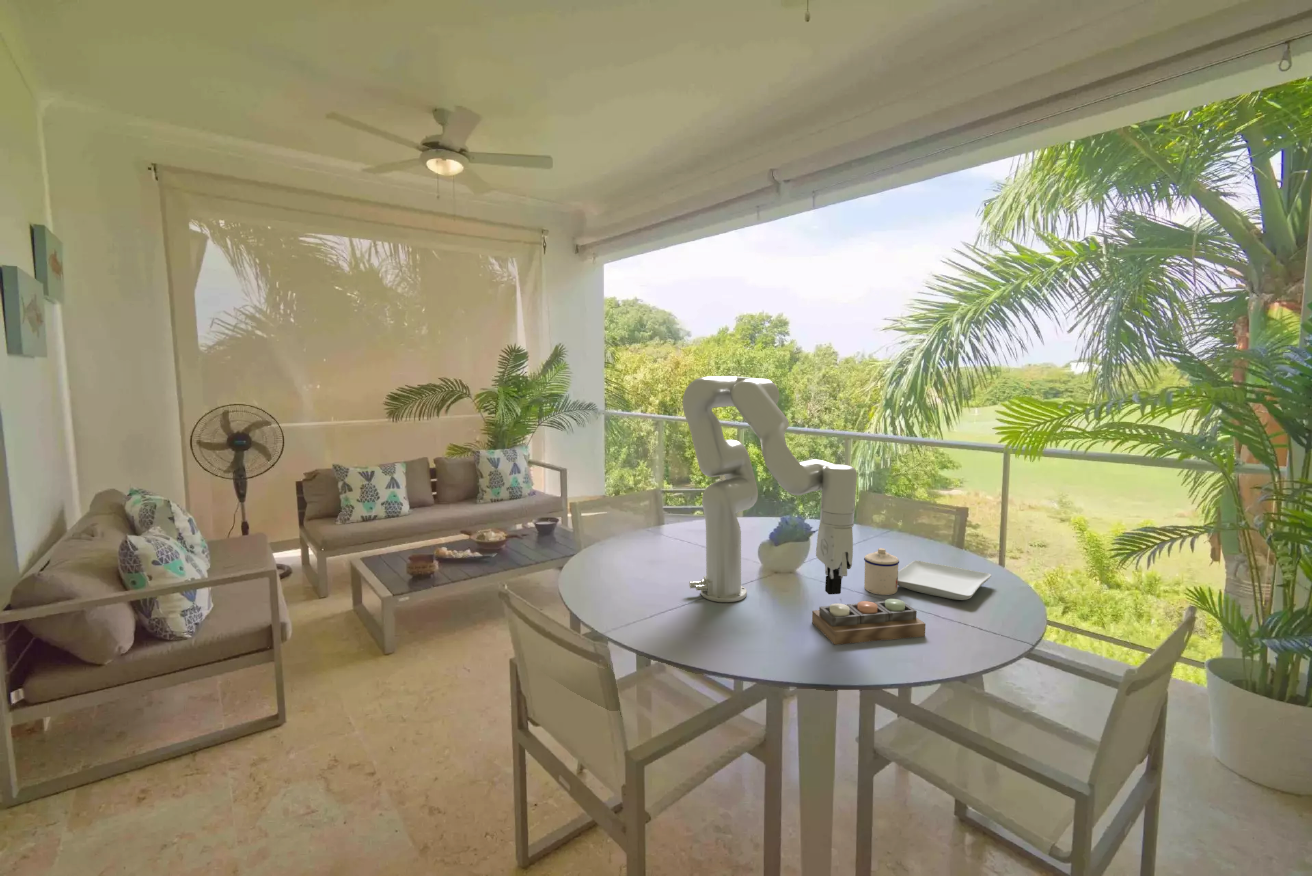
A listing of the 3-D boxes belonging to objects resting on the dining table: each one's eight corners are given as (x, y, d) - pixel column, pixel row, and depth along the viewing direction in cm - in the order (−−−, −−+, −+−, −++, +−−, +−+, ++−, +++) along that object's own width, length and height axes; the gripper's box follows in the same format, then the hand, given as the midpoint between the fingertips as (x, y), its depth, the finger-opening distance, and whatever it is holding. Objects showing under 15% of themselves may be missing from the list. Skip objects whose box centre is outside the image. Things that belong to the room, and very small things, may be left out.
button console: (834, 644, 130) (835, 623, 130) (812, 622, 142) (812, 602, 142) (925, 636, 134) (925, 615, 133) (895, 615, 146) (896, 595, 145)
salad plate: (887, 588, 163) (887, 576, 163) (914, 569, 179) (914, 558, 179) (970, 608, 149) (970, 595, 149) (992, 585, 165) (992, 573, 164)
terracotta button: (863, 619, 135) (863, 609, 135) (853, 611, 140) (854, 601, 139) (880, 617, 136) (881, 607, 136) (871, 610, 140) (871, 600, 140)
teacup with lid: (904, 595, 159) (905, 553, 157) (871, 596, 158) (872, 554, 157) (884, 579, 171) (885, 540, 169) (854, 580, 170) (855, 541, 169)
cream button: (834, 621, 134) (835, 611, 134) (826, 614, 138) (826, 604, 138) (852, 620, 135) (853, 610, 135) (843, 612, 139) (843, 602, 139)
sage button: (891, 616, 136) (891, 606, 136) (881, 609, 141) (881, 599, 140) (908, 615, 137) (908, 605, 137) (898, 607, 141) (898, 598, 141)
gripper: (808, 509, 143) (805, 581, 146) (836, 527, 128) (831, 606, 131) (837, 509, 144) (833, 580, 147) (868, 526, 130) (863, 605, 132)
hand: (832, 592), depth 139 cm, fingers closed
